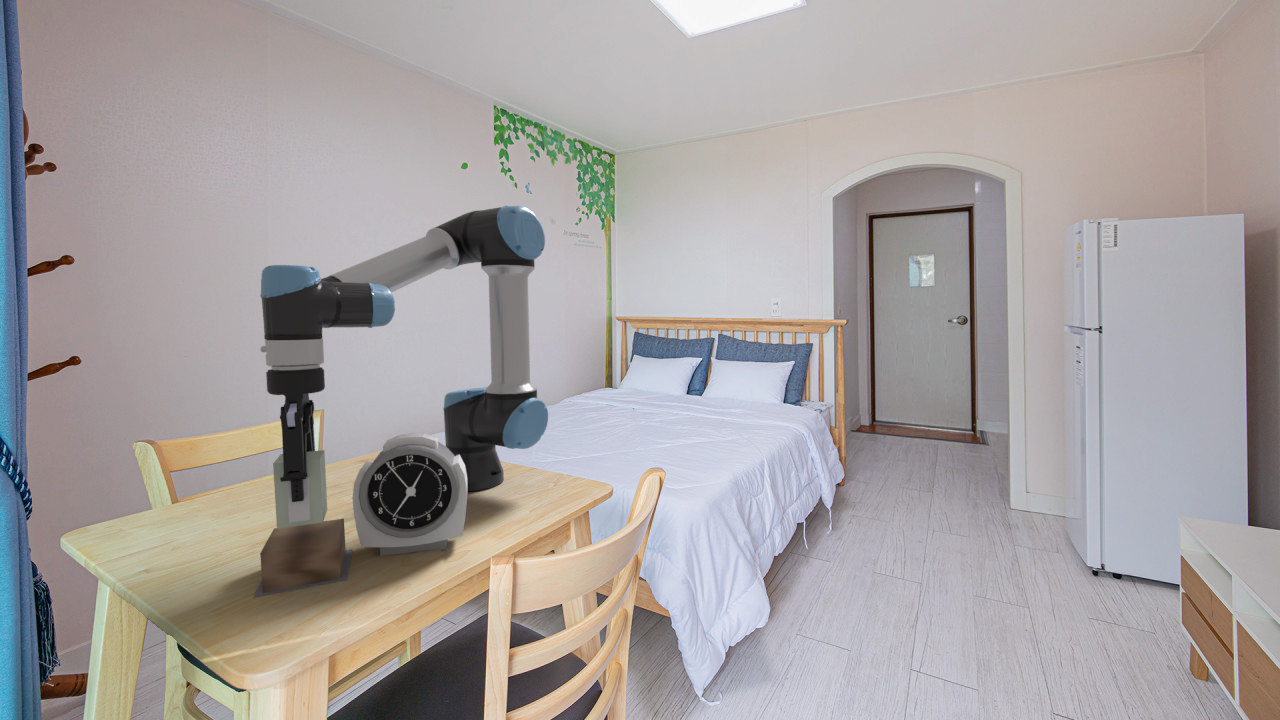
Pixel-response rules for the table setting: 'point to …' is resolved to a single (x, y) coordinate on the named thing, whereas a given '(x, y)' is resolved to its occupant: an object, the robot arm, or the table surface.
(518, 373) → the robot arm
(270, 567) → the walnut block
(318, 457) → the sage block
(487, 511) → the table surface
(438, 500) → the alarm clock
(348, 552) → the slate mat
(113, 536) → the table surface
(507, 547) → the table surface
